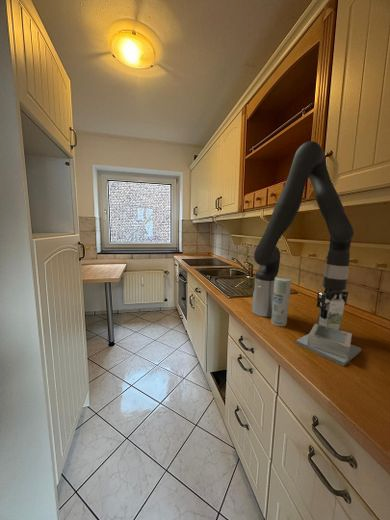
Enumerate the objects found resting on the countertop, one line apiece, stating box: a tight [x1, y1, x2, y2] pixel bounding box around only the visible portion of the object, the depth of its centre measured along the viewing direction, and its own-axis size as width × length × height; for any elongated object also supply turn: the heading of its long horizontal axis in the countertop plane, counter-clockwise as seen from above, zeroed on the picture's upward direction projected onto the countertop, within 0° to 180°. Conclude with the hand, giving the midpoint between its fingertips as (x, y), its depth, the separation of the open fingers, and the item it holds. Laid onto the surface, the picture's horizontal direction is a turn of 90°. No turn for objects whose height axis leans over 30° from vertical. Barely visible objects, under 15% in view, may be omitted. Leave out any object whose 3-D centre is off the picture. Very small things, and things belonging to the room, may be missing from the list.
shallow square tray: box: [307, 323, 353, 359], centre depth 72 cm, size 11×11×4 cm
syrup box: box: [316, 298, 345, 330], centre depth 82 cm, size 6×6×14 cm
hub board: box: [295, 333, 362, 367], centre depth 73 cm, size 15×14×1 cm
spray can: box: [270, 276, 292, 327], centre depth 90 cm, size 6×6×20 cm
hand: (329, 317), depth 83 cm, fingers closed on syrup box, 6 cm apart
